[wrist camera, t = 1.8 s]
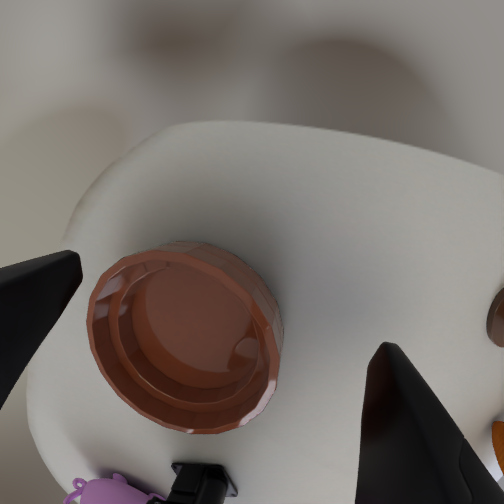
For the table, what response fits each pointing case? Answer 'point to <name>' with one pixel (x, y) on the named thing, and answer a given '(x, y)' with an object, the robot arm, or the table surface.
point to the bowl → (187, 336)
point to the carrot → (498, 442)
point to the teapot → (108, 492)
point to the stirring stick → (496, 320)
